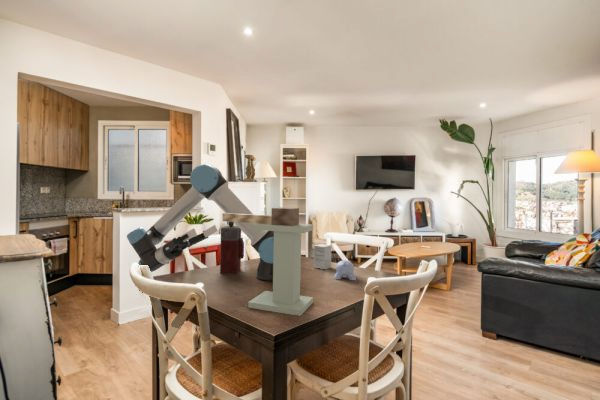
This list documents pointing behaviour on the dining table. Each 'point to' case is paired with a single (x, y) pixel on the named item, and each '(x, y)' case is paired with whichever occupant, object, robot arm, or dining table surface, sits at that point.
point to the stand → (284, 271)
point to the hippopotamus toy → (345, 270)
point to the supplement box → (322, 256)
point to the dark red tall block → (231, 249)
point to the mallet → (267, 217)
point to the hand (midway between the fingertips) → (206, 229)
